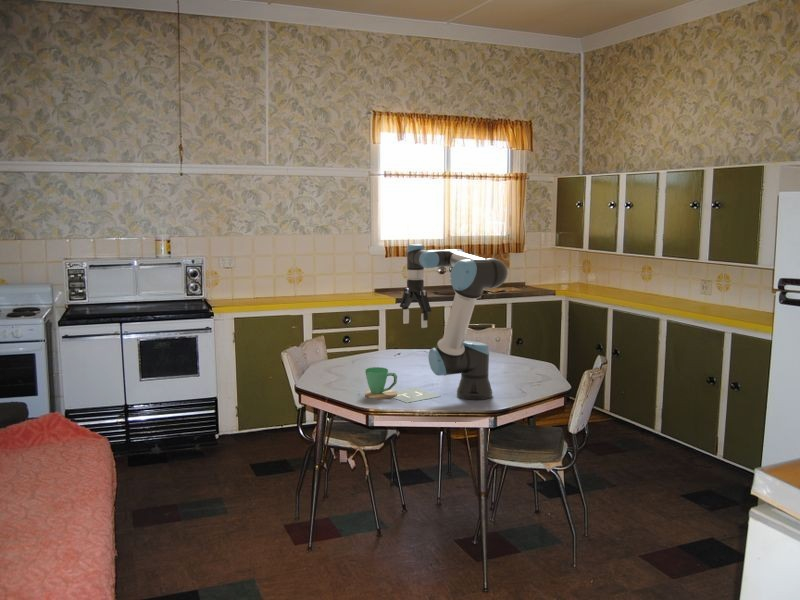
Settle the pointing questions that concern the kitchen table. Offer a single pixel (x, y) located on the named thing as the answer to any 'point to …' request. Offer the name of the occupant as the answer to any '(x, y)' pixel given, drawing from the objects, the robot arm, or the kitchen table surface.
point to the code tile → (414, 395)
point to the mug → (378, 379)
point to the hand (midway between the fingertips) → (415, 325)
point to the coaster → (382, 394)
